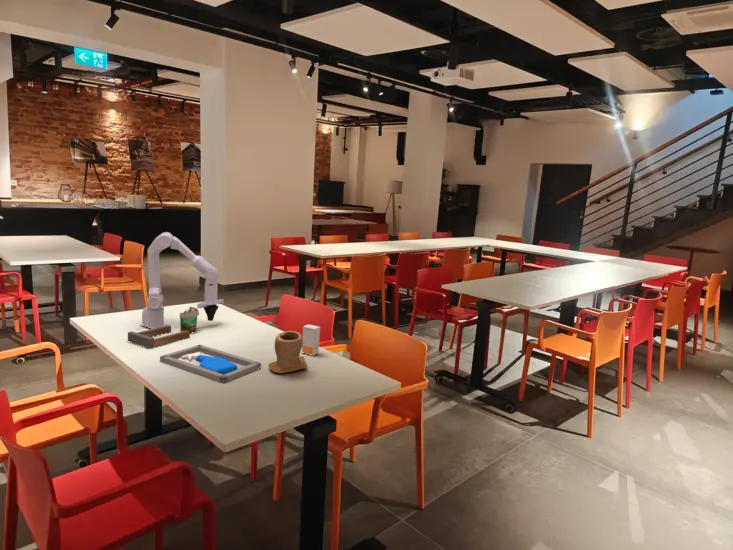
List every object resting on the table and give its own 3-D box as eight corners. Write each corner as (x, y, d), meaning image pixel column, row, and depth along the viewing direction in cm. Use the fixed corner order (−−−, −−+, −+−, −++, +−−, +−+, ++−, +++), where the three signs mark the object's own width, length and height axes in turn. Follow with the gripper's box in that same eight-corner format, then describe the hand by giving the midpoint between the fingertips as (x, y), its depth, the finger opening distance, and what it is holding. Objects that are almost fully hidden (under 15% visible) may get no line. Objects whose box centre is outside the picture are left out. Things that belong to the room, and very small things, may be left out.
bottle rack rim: (160, 361, 184) (160, 356, 184) (199, 349, 200) (199, 344, 200) (223, 383, 168) (223, 377, 168) (260, 368, 185) (261, 363, 184)
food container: (193, 335, 217) (193, 314, 215) (179, 334, 217) (179, 313, 215) (202, 328, 229) (203, 307, 228) (189, 327, 229) (190, 306, 228)
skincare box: (301, 353, 204) (302, 326, 202) (307, 351, 208) (308, 323, 206) (313, 356, 202) (314, 328, 199) (318, 354, 205) (320, 326, 203)
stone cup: (278, 378, 176) (280, 339, 173) (264, 368, 185) (266, 330, 183) (315, 372, 185) (317, 334, 182) (299, 362, 194) (301, 325, 192)
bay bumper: (127, 341, 203) (127, 332, 202) (132, 340, 205) (132, 331, 204) (149, 348, 196) (149, 339, 196) (154, 347, 198) (154, 338, 198)
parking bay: (132, 340, 205) (132, 333, 204) (168, 331, 220) (168, 325, 220) (154, 347, 198) (154, 340, 198) (189, 337, 214) (189, 331, 213)
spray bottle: (240, 364, 180) (203, 348, 195) (214, 371, 172) (177, 354, 187) (240, 371, 181) (203, 355, 196) (214, 379, 172) (177, 361, 187)
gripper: (205, 296, 222) (204, 325, 224) (228, 291, 235) (227, 319, 237) (194, 293, 225) (193, 322, 228) (217, 289, 238) (217, 316, 240)
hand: (210, 320), depth 233 cm, fingers closed
